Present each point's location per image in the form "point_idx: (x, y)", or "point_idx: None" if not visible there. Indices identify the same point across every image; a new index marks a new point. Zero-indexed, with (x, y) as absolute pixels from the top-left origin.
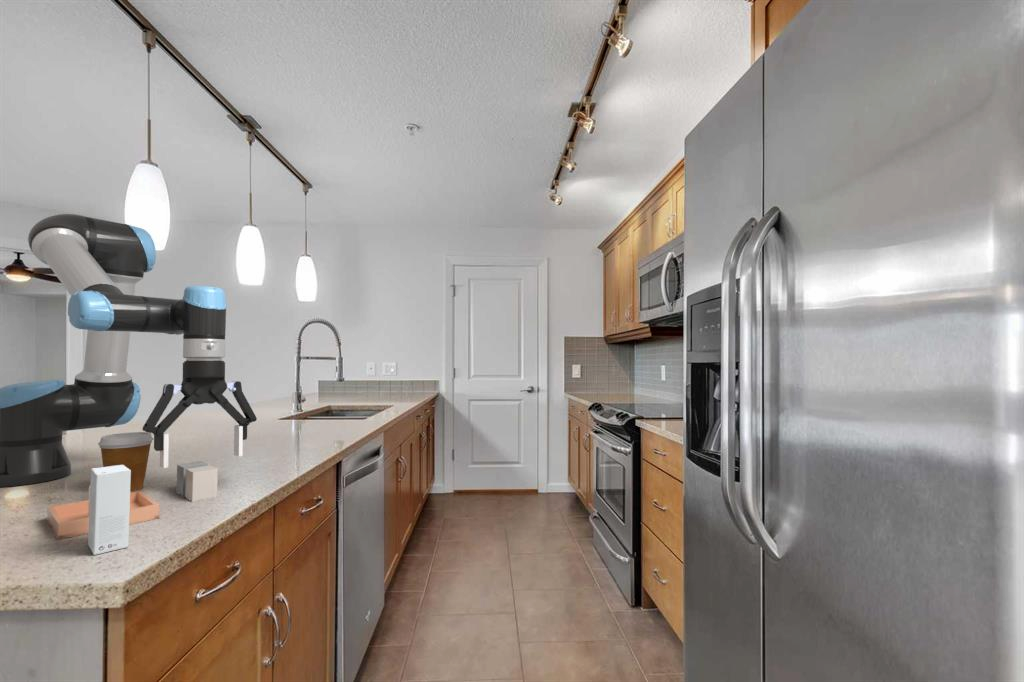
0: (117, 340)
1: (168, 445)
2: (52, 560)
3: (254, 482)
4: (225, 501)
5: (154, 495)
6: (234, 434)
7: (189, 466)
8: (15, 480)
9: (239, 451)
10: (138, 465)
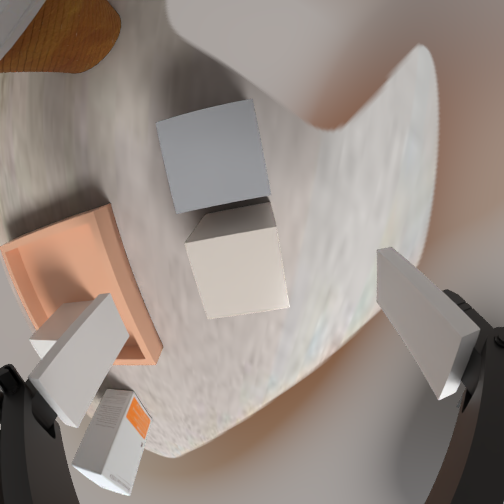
0: None
1: (96, 391)
2: (94, 401)
3: (398, 163)
4: (288, 314)
5: (135, 133)
6: (428, 304)
7: (197, 198)
8: None
9: (386, 312)
10: (63, 47)
